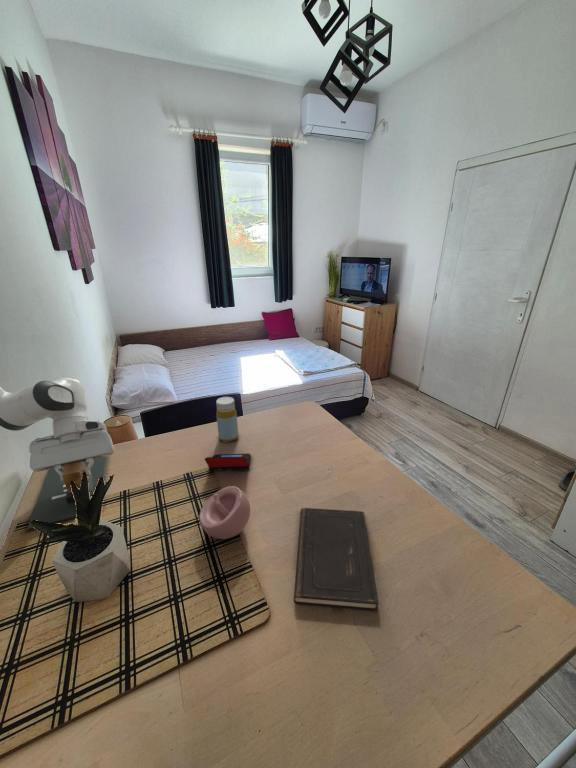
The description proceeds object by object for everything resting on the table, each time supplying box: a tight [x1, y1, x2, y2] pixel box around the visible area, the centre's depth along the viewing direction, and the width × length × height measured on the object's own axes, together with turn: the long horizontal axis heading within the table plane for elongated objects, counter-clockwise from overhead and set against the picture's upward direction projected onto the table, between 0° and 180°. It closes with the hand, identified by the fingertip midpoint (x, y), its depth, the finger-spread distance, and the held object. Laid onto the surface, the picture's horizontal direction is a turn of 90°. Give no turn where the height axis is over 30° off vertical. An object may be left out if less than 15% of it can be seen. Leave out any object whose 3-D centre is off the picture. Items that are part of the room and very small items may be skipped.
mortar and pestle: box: [198, 485, 251, 540], centre depth 78 cm, size 12×12×11 cm
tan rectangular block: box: [62, 459, 92, 503], centre depth 91 cm, size 5×10×8 cm, turn 24°
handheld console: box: [204, 453, 252, 472], centre depth 101 cm, size 12×11×7 cm
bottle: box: [215, 396, 239, 443], centre depth 115 cm, size 7×7×15 cm
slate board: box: [26, 456, 108, 532], centre depth 94 cm, size 16×26×1 cm, turn 24°
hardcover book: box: [293, 507, 380, 612], centre depth 72 cm, size 16×23×2 cm
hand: (76, 478), depth 90 cm, fingers closed on tan rectangular block, 4 cm apart
